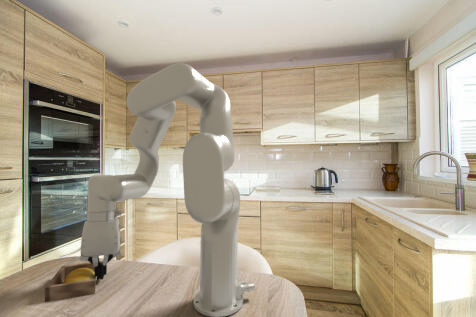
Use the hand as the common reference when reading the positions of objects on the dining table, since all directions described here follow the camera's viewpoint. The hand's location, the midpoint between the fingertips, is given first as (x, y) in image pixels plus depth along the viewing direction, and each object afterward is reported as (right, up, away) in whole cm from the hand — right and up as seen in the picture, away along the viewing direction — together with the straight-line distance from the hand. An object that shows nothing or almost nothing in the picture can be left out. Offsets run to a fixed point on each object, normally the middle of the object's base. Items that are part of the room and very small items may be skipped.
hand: (100, 277), depth 71 cm
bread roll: (-5, -1, -2) cm, 6 cm away
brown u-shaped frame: (-5, -1, -2) cm, 6 cm away
